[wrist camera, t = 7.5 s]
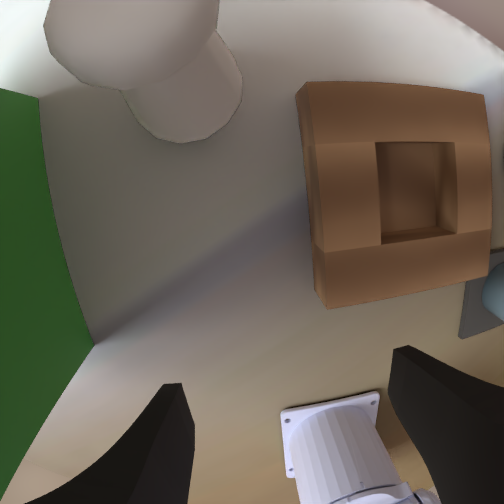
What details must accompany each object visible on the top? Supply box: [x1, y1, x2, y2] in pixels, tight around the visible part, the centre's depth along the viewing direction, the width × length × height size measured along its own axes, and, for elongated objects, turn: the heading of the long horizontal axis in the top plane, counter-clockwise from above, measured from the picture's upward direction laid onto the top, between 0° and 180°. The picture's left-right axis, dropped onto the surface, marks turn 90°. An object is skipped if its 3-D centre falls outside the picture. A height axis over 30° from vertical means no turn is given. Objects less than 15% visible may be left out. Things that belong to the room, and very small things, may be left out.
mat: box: [458, 249, 504, 339], centre depth 21 cm, size 7×7×1 cm
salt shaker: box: [43, 0, 242, 144], centre depth 11 cm, size 6×6×13 cm
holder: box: [296, 81, 492, 310], centre depth 17 cm, size 12×12×3 cm
